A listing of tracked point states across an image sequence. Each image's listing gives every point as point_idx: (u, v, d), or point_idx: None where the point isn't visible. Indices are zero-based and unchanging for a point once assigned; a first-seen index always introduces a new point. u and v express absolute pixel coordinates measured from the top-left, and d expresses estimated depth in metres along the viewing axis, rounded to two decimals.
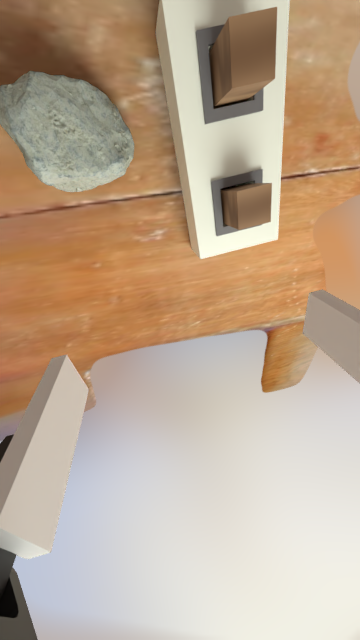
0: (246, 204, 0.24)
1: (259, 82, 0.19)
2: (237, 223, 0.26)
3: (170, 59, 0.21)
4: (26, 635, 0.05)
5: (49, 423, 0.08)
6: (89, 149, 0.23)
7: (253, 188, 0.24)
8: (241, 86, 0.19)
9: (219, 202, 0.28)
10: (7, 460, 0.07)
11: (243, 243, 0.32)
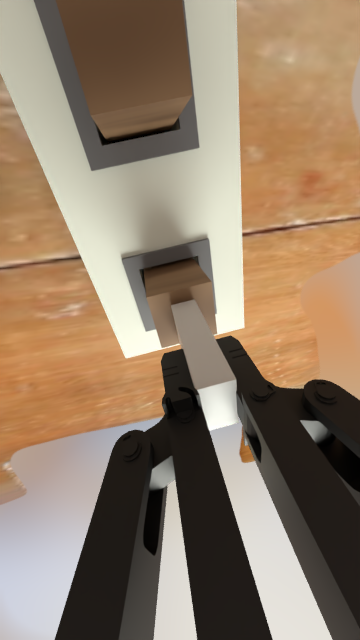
0: (169, 314, 0.14)
1: (157, 102, 0.08)
2: (159, 338, 0.15)
3: None
4: None
5: None
6: None
7: (177, 291, 0.13)
8: (114, 111, 0.08)
9: (141, 288, 0.17)
10: (191, 357, 0.09)
11: None
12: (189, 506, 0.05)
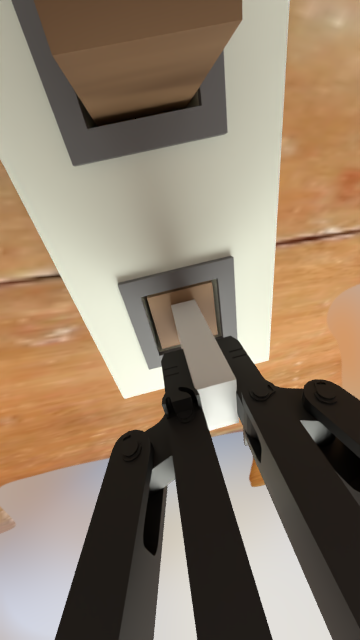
0: (169, 315, 0.14)
1: (177, 35, 0.05)
2: None
3: None
4: None
5: None
6: None
7: (178, 291, 0.13)
8: (98, 49, 0.04)
9: (143, 319, 0.13)
10: (191, 357, 0.09)
11: None
12: (189, 506, 0.05)
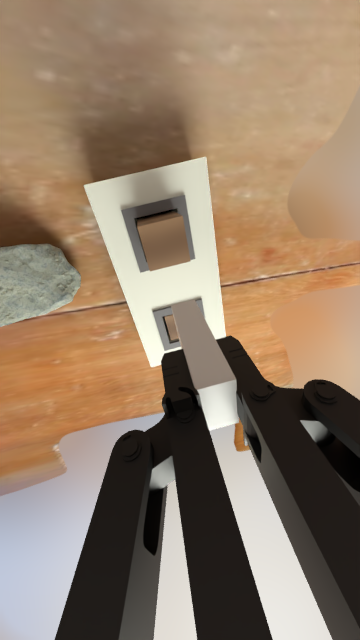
0: (174, 324, 0.30)
1: None
2: None
3: (100, 228, 0.23)
4: None
5: None
6: (30, 297, 0.25)
7: None
8: (159, 268, 0.21)
9: (163, 326, 0.29)
10: (191, 357, 0.09)
11: None
12: (189, 506, 0.05)
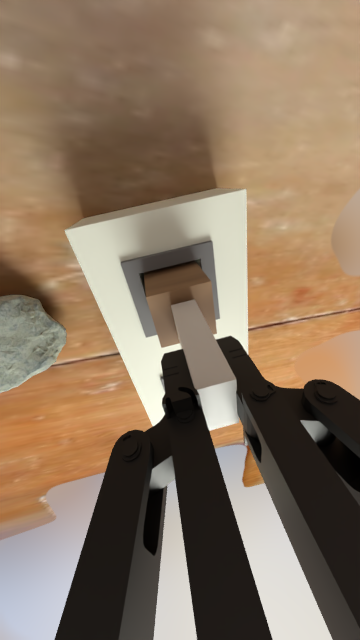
0: None
1: None
2: None
3: None
4: None
5: None
6: None
7: None
8: None
9: None
10: (191, 357, 0.09)
11: None
12: (189, 506, 0.05)
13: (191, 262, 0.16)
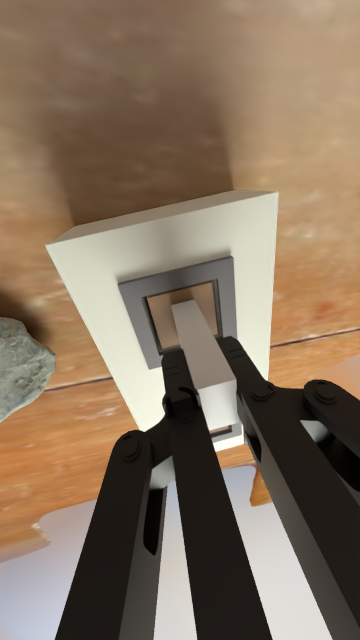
0: None
1: None
2: None
3: None
4: None
5: None
6: None
7: None
8: None
9: None
10: (191, 357, 0.09)
11: (217, 448, 0.23)
12: (189, 506, 0.05)
13: None
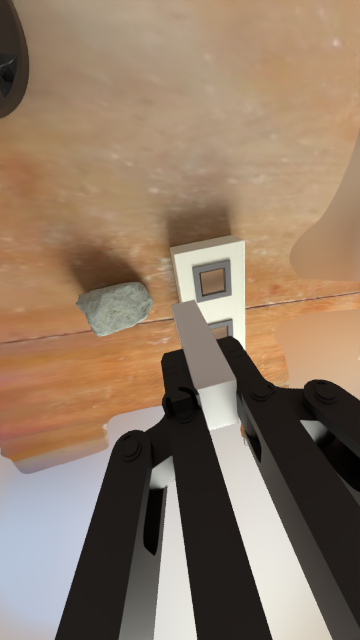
0: None
1: (216, 291, 0.40)
2: None
3: (177, 277, 0.37)
4: None
5: None
6: (127, 316, 0.39)
7: (216, 328, 0.44)
8: (207, 292, 0.40)
9: None
10: (191, 357, 0.09)
11: None
12: (189, 506, 0.05)
13: None
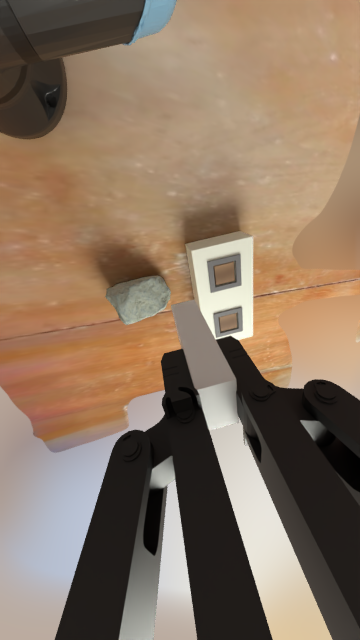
0: (224, 321, 0.50)
1: (228, 281, 0.45)
2: (220, 328, 0.51)
3: (194, 270, 0.42)
4: None
5: None
6: (150, 306, 0.45)
7: (227, 315, 0.49)
8: (220, 283, 0.45)
9: (218, 323, 0.49)
10: (191, 357, 0.09)
11: None
12: (189, 506, 0.05)
13: None
